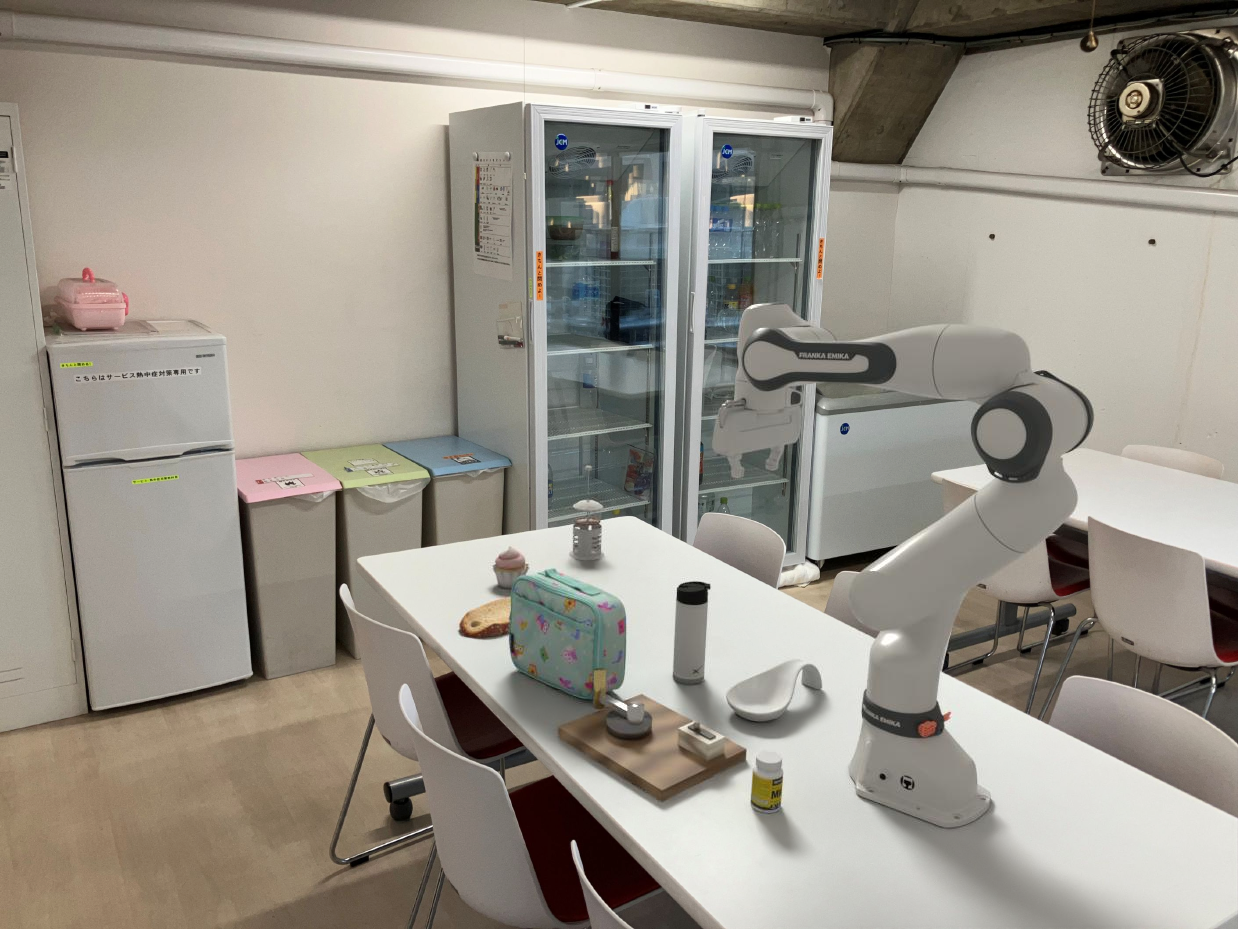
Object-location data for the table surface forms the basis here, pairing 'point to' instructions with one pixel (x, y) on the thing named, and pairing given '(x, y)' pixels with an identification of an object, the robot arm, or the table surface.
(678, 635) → the travel mug
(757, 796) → the supplement bottle
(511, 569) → the cupcake
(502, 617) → the slice of bread
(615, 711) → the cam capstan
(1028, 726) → the table surface
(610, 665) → the lunch box
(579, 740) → the stand
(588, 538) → the french press
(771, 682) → the spoon rest
